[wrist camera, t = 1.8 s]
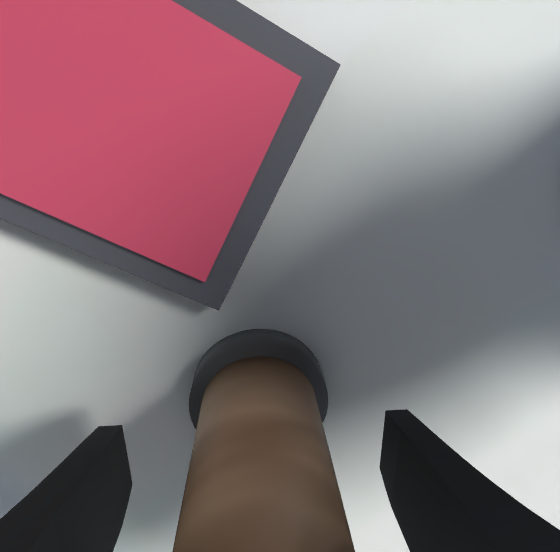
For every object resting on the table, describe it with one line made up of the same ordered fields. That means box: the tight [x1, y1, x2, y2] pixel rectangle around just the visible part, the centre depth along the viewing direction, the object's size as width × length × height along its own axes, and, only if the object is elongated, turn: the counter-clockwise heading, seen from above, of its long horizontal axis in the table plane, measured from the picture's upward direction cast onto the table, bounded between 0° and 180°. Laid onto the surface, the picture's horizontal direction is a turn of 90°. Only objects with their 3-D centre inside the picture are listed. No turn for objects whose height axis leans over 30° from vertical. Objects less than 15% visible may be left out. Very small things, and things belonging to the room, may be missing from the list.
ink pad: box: [0, 0, 340, 311], centre depth 9 cm, size 9×7×1 cm
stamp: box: [173, 329, 355, 552], centre depth 10 cm, size 4×4×6 cm
